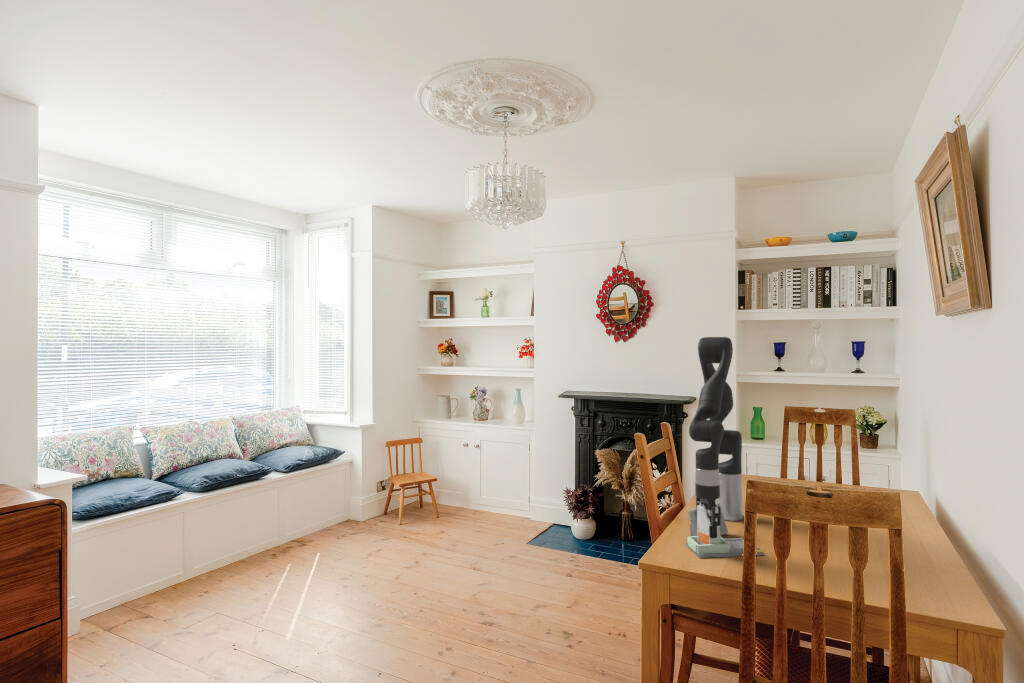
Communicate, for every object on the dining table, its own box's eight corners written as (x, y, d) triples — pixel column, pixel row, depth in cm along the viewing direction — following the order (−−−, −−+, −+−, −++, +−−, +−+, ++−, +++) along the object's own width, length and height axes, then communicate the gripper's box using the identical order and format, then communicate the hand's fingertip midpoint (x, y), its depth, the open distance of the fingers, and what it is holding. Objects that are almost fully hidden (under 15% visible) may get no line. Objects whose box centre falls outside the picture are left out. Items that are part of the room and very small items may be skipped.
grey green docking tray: (684, 545, 191) (684, 535, 191) (745, 542, 192) (745, 532, 192) (699, 558, 179) (699, 547, 179) (763, 555, 180) (763, 545, 180)
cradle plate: (723, 543, 189) (723, 540, 189) (743, 542, 189) (743, 540, 189) (732, 550, 182) (732, 547, 182) (752, 549, 183) (752, 547, 183)
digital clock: (698, 544, 191) (697, 512, 191) (680, 536, 200) (679, 505, 200) (735, 537, 198) (734, 506, 198) (716, 530, 206) (715, 500, 206)
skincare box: (696, 542, 187) (696, 505, 187) (707, 540, 189) (706, 503, 189) (710, 548, 181) (709, 510, 182) (720, 546, 183) (720, 508, 183)
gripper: (728, 487, 178) (729, 541, 178) (709, 477, 193) (710, 526, 193) (705, 487, 178) (705, 541, 178) (687, 477, 192) (688, 527, 192)
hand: (708, 533), depth 185 cm, fingers closed on skincare box, 7 cm apart
